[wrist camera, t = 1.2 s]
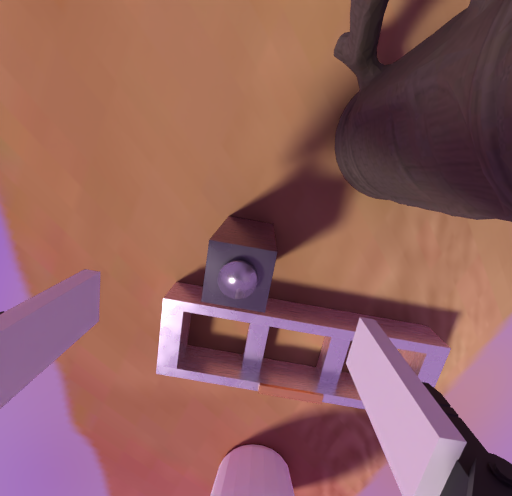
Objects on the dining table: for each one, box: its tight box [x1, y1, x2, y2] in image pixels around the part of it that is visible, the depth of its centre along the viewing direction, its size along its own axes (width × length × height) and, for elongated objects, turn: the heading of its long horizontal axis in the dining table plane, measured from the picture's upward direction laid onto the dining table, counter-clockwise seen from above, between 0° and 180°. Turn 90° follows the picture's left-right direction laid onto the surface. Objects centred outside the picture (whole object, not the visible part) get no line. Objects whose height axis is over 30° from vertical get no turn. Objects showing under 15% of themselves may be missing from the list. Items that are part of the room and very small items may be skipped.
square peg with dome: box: [201, 216, 277, 313], centre depth 23 cm, size 4×4×11 cm
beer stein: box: [334, 0, 512, 222], centre depth 16 cm, size 15×11×20 cm
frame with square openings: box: [156, 282, 451, 409], centre depth 29 cm, size 8×28×4 cm, turn 80°
